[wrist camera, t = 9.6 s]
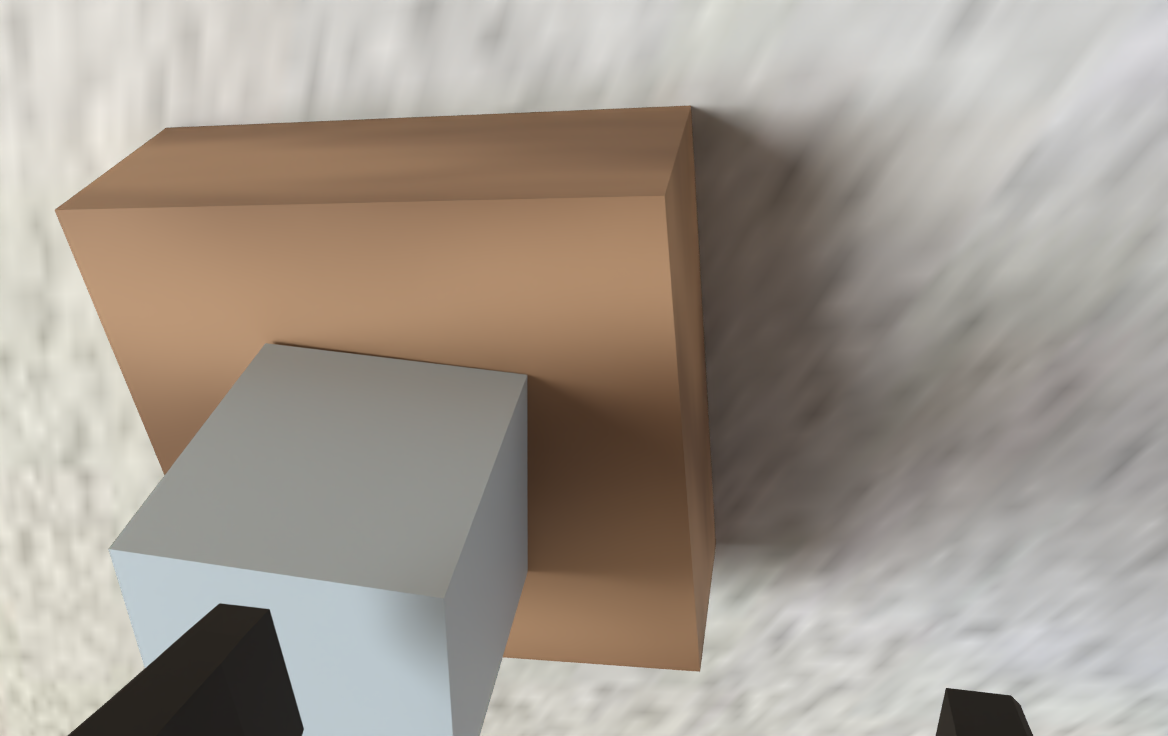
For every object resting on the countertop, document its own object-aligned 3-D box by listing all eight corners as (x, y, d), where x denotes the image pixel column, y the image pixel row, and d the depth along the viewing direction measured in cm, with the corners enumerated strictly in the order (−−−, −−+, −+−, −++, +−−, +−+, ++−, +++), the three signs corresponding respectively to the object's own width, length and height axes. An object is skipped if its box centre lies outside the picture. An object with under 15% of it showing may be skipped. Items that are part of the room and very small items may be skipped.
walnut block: (717, 531, 24) (700, 671, 21) (306, 513, 26) (231, 637, 23) (693, 98, 18) (664, 196, 15) (176, 120, 21) (54, 210, 17)
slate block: (527, 572, 20) (457, 810, 16) (297, 539, 21) (173, 762, 16) (527, 374, 17) (444, 598, 13) (265, 343, 18) (108, 549, 14)
